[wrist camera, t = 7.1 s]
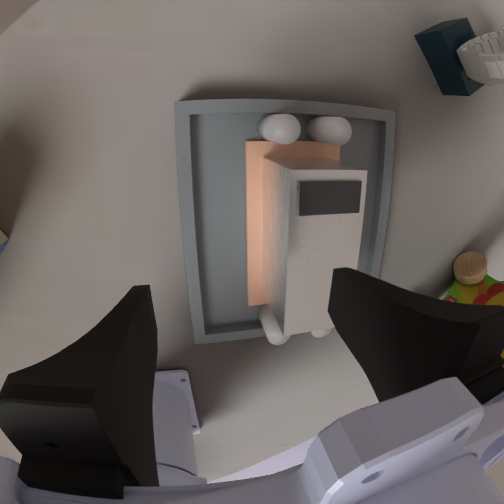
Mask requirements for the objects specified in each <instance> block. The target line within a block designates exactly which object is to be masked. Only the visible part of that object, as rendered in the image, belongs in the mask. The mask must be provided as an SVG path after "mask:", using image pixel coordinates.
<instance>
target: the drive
mask: <svg viewBox="0 0 504 504" xmlns="http://www.w3.org/2000/svg"><path fill="white" fill-rule="evenodd" d="M366 183H367V170H365V169H362V168H359V167H356V166H352V165H349V164H346V163H343V162H340V161H336V160H333V159H330V158H327V157H263V294H264V296H265V298H266V300H267V302H268V304H269V307H270V309H271V311H272V313H273V315H274V317H275V319H276V321H277V323H278V325H279V328H280V330H281V332H282V334H283V336H287V335H294V334H300V333H305V332H311V331H317V330H322V329H328V328H333V327H335V326H334V324H333V322H332V320H331V318H330V316H329V313H328V311H327V310H328V304H329V297H330V290H331V282H332V275H333V268H343V267H348V268H352V269H355V270H357V265H358V258H359V250H360V242H361V234H362V225H363V216H364V206H365V195H366Z"/></svg>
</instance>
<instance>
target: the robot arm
mask: <svg viewBox="0 0 504 504" xmlns="http://www.w3.org/2000/svg"><path fill="white" fill-rule="evenodd" d="M327 311H328V313H329V316H330V318H331V320H332V322H333V324H334V326H335V328H336V330H337V332H338V333H339V335H340V336H341V338H342V339H343V341H344V342H345V344H346V345H347V347H348V348H349V349H350V351H351V352H352V354H353V355H354V357H355V358H356V360H357V361H358V363H359V364H360V365H361V367H362V369H363V370H364V372H365V374H366V375H367V377H368V379H369V381H370V383H371V385H372V387H373V389H374V391H375V394H376V396H377V398H378V400H379V403H377V404H374V405H371V406H367V407H364V408H361V409H359V410H356V411H354V412H352V413H350V414H347V415H345V416H343V417H340V418H338V419H337V420H336V421H334V422H333V423H332V424H330V425H329V426H327V427H326V428H325V429H323V430H322V431H320V433H319V434H318V436H317V437H316V439H315V440H314V442H313V443H312V444H311V446H310V447H309V449H308V451H307V456H306V458H305V462H304V463H302V464H300V465H297V466H294V467H291V468H289V469H286V470H283V471H280V472H277V473H274V474H271V475H266V476H261V477H255V478H249V479H243V480H236V481H228V482H219V483H210V484H207V480H206V478H200V477H198V473H197V466H196V458H195V450H194V442H193V434H198V433H200V427H199V422H198V418H197V413H196V409H195V404H194V400H193V395H192V390H191V385H190V380H189V375H188V372H187V371H186V370H170V371H157V372H155V371H156V362H157V352H158V346H157V326H156V320H155V315H154V309H153V303H152V297H151V291H150V285H139V286H133V287H132V288H131V289H130V290H129V292H128V293H127V294H126V295H125V296H124V297H123V298H122V299H121V301H120V302H119V303H118V304H117V305H116V306H115V307H114V308H113V309H112V310H111V311H110V312H109V313H108V314H107V315H106V316H105V317H104V318H103V319H102V320H101V321H100V322H99V323H98V324H97V325H96V326H95V327H94V328H92V329H91V330H90V331H89V332H88V333H86V334H85V335H84V336H82V337H81V338H80V339H79V340H77V341H76V342H74V343H73V344H71V345H69V346H68V347H66V348H65V349H63V350H62V351H60V352H58V353H57V354H55V355H53V356H51V357H49V358H47V359H45V360H43V361H41V362H39V363H37V364H35V365H32V366H30V367H27V368H24V369H22V370H19V371H16V372H14V373H11V374H8V376H7V378H6V380H5V382H4V385H3V387H2V389H1V391H0V428H1V429H2V431H3V432H4V433H5V435H6V436H7V437H8V438H9V440H10V441H11V442H12V443H13V445H14V446H15V447H16V448H17V449H18V450H19V452H20V453H21V454H22V459H21V463H20V464H19V463H18V462H16V461H14V460H12V459H9V458H6V457H2V456H0V504H504V495H503V494H502V493H501V491H500V490H499V488H498V487H497V486H496V484H495V483H494V481H493V480H492V479H491V477H490V476H489V475H488V473H487V472H486V470H487V469H489V468H490V467H491V466H492V465H493V464H495V463H496V462H497V461H498V460H499V459H500V458H502V457H503V456H504V367H503V365H504V359H503V358H502V357H501V354H502V352H503V350H504V306H501V305H474V304H464V303H456V302H450V301H445V300H440V299H436V298H431V297H428V296H424V295H421V294H417V293H414V292H411V291H408V290H405V289H403V288H400V287H397V286H395V285H392V284H390V283H387V282H385V281H382V280H380V279H378V278H375V277H373V276H370V275H368V274H366V273H363V272H360V271H358V270H355V269H352V268H348V267H343V268H333V275H332V282H331V290H330V297H329V304H328V310H327ZM183 378H184V379H183Z"/></svg>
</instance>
